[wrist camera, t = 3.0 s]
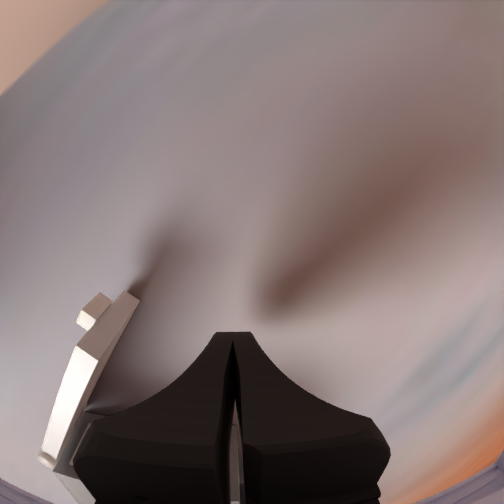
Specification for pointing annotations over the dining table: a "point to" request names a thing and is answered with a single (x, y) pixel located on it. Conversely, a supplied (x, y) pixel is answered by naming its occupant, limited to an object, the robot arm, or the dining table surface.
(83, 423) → the camera case
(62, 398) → the side door
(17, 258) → the dining table surface
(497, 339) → the dining table surface
